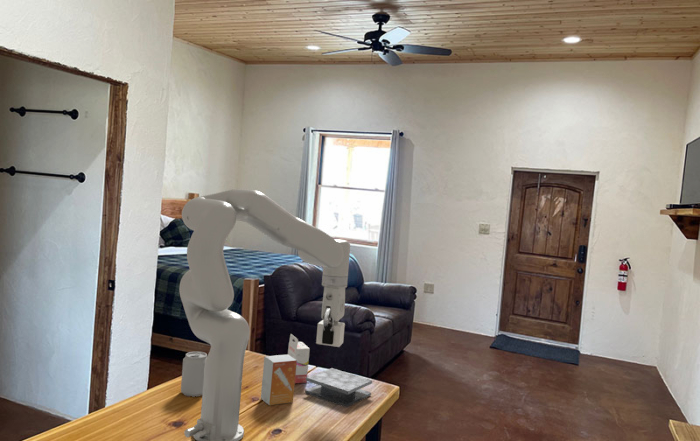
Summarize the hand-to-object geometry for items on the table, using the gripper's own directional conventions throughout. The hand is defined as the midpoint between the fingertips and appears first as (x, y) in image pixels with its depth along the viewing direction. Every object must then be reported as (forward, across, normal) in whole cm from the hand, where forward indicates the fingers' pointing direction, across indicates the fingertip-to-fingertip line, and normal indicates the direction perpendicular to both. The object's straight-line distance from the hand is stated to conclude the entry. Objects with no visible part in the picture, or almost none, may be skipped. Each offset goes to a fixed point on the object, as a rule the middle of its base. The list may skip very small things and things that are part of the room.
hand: (330, 340), depth 163 cm
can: (+20, -8, +39) cm, 44 cm away
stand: (+20, +11, -1) cm, 23 cm away
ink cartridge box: (+20, +18, +15) cm, 31 cm away
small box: (+20, -3, +14) cm, 25 cm away
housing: (+1, 0, 0) cm, 1 cm away
